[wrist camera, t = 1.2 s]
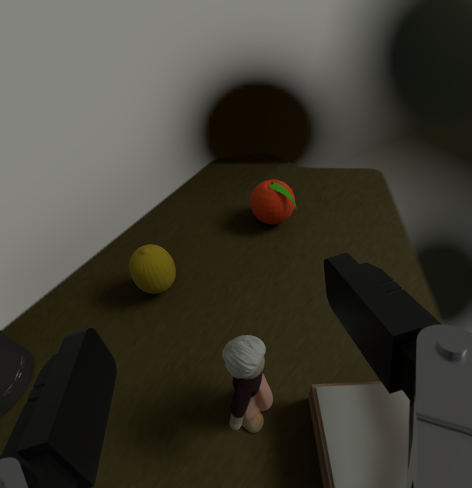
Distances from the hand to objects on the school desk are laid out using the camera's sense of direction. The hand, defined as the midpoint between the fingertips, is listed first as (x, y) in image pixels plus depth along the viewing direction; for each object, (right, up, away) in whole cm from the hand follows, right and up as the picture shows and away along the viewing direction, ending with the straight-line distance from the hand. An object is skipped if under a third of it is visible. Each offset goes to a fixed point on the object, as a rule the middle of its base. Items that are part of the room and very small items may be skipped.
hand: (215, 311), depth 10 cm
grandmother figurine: (+3, -14, +21) cm, 25 cm away
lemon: (-10, -4, +32) cm, 33 cm away
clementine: (+7, +6, +39) cm, 40 cm away
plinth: (+13, -17, +16) cm, 27 cm away
